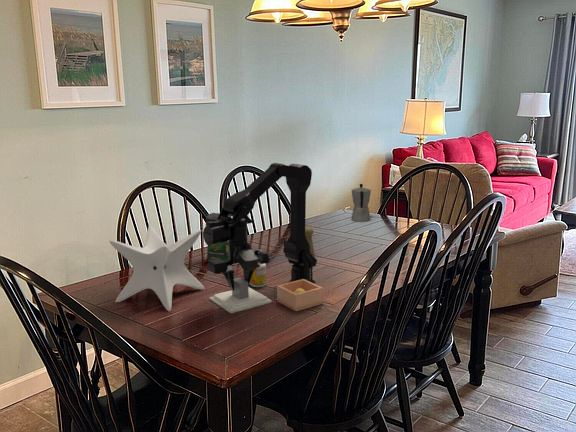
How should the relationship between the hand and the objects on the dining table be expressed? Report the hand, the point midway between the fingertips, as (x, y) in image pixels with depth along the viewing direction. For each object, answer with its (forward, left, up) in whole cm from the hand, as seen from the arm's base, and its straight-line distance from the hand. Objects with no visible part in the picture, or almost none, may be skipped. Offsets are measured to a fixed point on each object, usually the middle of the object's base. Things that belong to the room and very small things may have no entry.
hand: (239, 288), depth 167 cm
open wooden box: (-14, +12, -4) cm, 19 cm away
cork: (-45, -27, -4) cm, 53 cm away
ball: (-14, +12, -1) cm, 18 cm away
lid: (0, 0, -3) cm, 3 cm away
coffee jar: (-14, -40, -4) cm, 43 cm away
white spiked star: (+18, -19, -4) cm, 27 cm away
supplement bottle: (-12, -9, -4) cm, 16 cm away
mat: (0, 0, -4) cm, 4 cm away
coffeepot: (-100, -57, -4) cm, 115 cm away
